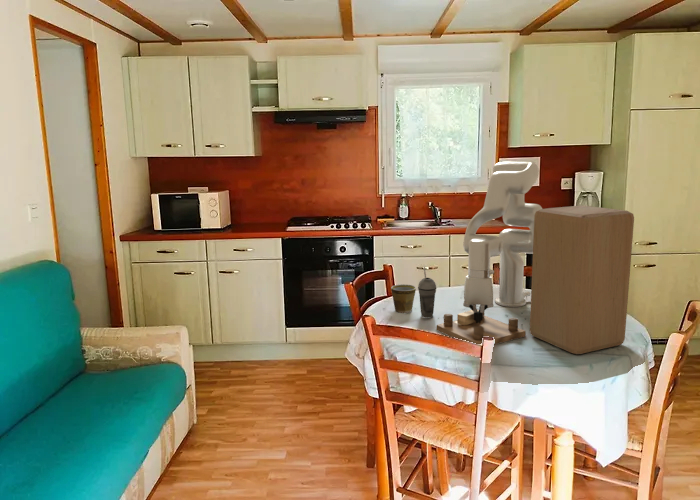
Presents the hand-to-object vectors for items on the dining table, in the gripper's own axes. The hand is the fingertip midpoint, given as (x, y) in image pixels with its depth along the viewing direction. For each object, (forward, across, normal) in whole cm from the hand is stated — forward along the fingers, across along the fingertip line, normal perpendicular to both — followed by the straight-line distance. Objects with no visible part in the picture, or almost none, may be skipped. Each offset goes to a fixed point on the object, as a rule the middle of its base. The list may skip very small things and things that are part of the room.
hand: (477, 322), depth 198 cm
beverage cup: (+3, +18, -15) cm, 24 cm away
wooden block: (+3, -32, +8) cm, 33 cm away
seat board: (+3, 0, +3) cm, 4 cm away
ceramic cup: (+3, +29, -22) cm, 36 cm away
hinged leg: (+1, +3, -3) cm, 4 cm away
